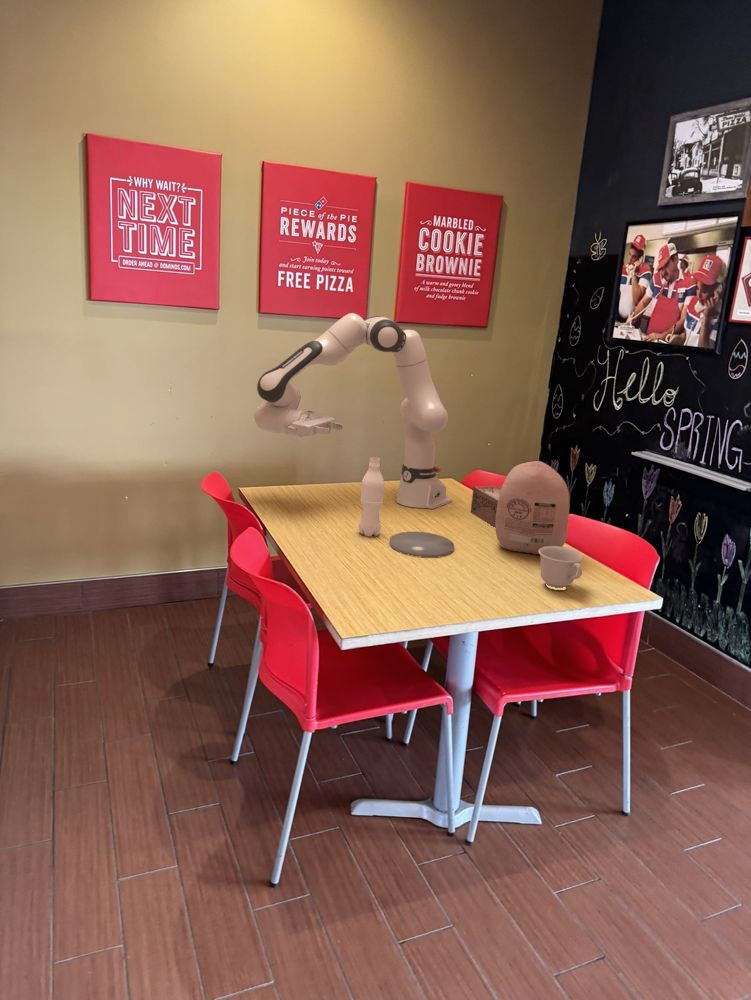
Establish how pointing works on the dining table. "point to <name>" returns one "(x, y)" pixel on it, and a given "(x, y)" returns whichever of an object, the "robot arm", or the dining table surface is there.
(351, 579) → the dining table surface
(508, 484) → the packaged food
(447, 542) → the plate
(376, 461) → the water bottle
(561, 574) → the teacup
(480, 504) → the tissue box cover
